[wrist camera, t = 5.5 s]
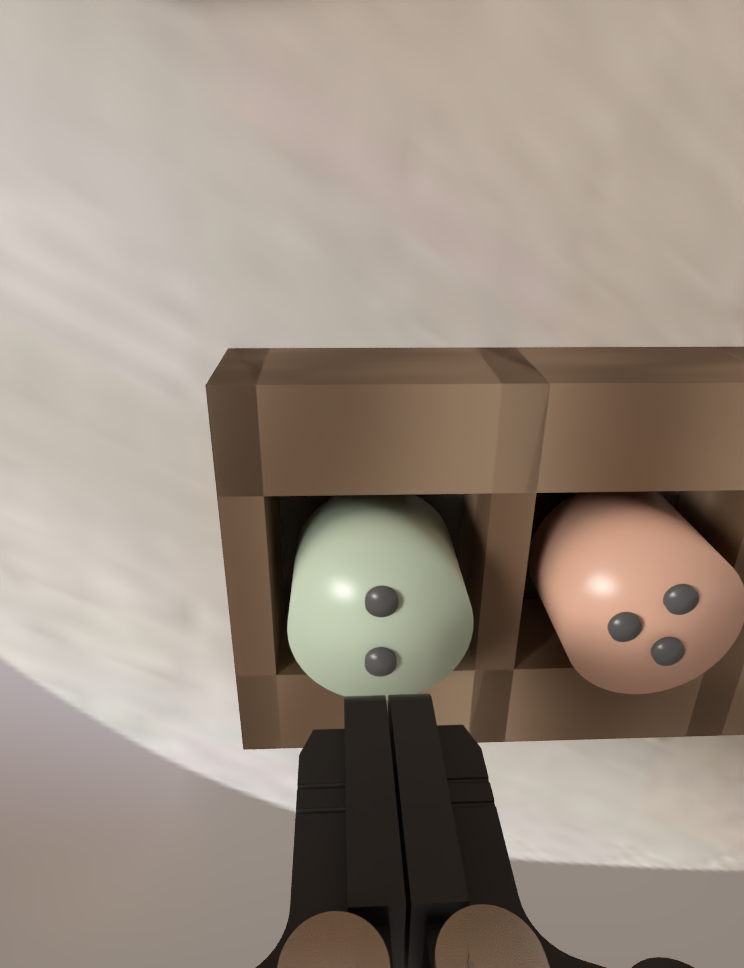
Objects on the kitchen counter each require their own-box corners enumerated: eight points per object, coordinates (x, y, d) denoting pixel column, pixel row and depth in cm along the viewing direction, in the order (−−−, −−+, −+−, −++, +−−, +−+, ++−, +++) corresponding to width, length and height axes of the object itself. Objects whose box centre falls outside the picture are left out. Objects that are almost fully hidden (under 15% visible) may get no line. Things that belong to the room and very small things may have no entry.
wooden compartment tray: (983, 346, 17) (1107, 380, 14) (855, 657, 21) (931, 729, 18) (228, 348, 16) (205, 385, 13) (256, 671, 20) (243, 749, 18)
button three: (697, 481, 16) (772, 547, 14) (665, 613, 18) (725, 696, 15) (537, 483, 16) (580, 551, 13) (520, 617, 18) (555, 701, 15)
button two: (456, 484, 16) (482, 552, 13) (447, 618, 18) (468, 703, 15) (292, 486, 16) (282, 555, 13) (298, 621, 18) (291, 708, 15)
